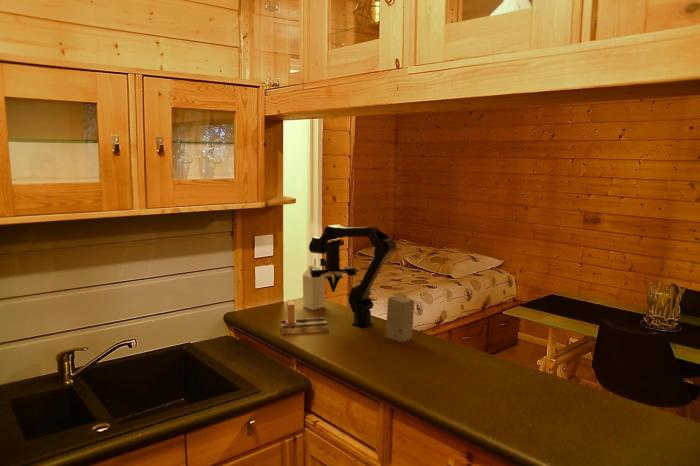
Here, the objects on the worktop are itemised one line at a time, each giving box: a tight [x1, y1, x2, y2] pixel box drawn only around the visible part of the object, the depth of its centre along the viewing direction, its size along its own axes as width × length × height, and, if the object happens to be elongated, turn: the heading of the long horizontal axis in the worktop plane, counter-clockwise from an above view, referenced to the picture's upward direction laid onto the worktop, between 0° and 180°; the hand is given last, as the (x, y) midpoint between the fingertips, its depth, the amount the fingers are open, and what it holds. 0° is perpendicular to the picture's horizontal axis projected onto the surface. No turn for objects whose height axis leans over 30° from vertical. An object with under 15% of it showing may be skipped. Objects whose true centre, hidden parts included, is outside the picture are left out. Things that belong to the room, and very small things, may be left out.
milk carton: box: [302, 265, 326, 311], centre depth 243 cm, size 7×7×19 cm
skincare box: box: [385, 295, 415, 343], centre depth 204 cm, size 8×7×16 cm
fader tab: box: [284, 300, 297, 325], centre depth 214 cm, size 4×5×9 cm
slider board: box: [280, 317, 329, 335], centre depth 216 cm, size 18×10×3 cm, turn 101°
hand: (333, 291), depth 226 cm, fingers closed
